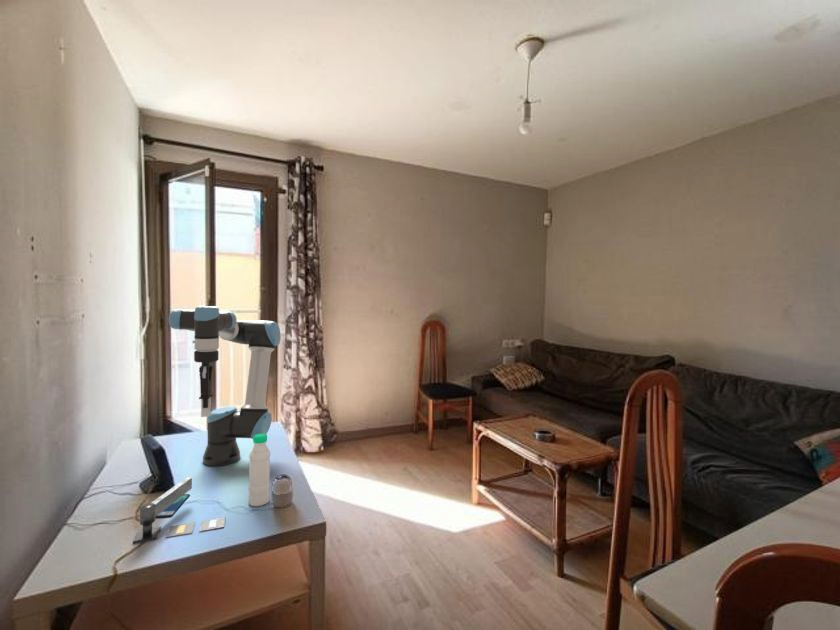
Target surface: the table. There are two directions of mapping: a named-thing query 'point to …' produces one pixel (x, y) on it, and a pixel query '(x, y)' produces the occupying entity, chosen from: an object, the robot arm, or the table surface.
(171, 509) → the smartphone
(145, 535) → the dark grey square block
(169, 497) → the rail
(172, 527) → the label plate ochre
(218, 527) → the label plate dark grey
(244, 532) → the table surface
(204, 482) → the table surface
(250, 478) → the water bottle
